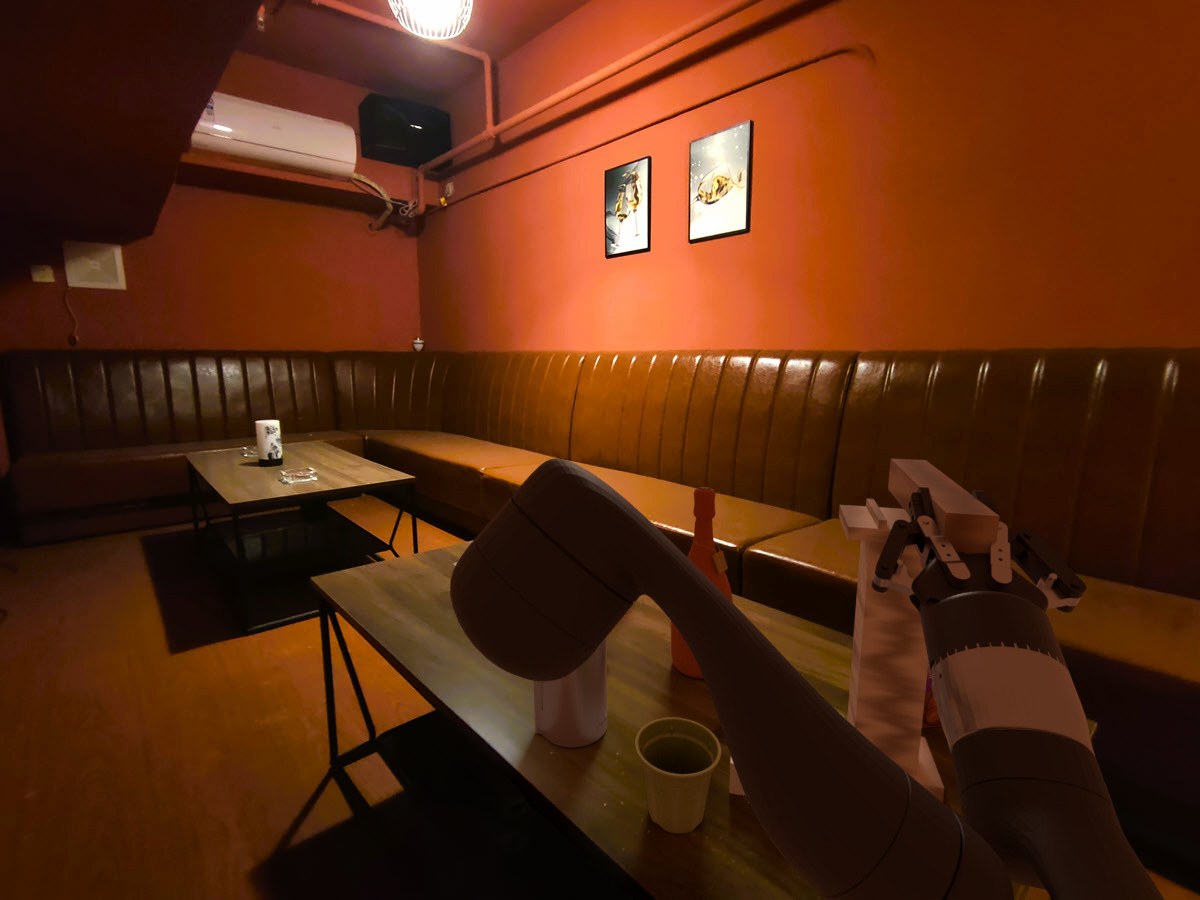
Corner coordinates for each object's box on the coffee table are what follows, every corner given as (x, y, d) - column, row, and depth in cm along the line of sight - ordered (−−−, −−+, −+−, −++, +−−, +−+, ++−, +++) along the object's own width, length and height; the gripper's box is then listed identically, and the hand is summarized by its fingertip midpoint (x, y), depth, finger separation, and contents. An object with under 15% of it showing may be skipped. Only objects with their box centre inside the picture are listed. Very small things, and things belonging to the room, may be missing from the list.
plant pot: (708, 780, 70) (710, 715, 68) (728, 846, 61) (730, 774, 59) (631, 782, 70) (631, 718, 68) (639, 850, 60) (639, 777, 59)
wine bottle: (685, 687, 89) (688, 498, 83) (661, 654, 98) (663, 482, 93) (742, 677, 91) (749, 492, 86) (714, 646, 101) (719, 478, 95)
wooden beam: (941, 556, 44) (946, 512, 44) (888, 489, 65) (890, 458, 64) (994, 561, 43) (999, 516, 43) (922, 491, 64) (925, 460, 63)
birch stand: (830, 782, 69) (849, 517, 63) (824, 734, 78) (840, 497, 72) (942, 803, 66) (973, 526, 60) (923, 751, 74) (949, 503, 68)
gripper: (1163, 670, 32) (1060, 467, 45) (887, 635, 36) (863, 457, 49) (1109, 731, 37) (1029, 532, 50) (870, 695, 41) (852, 519, 54)
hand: (947, 496), depth 49 cm, fingers closed on wooden beam, 3 cm apart
